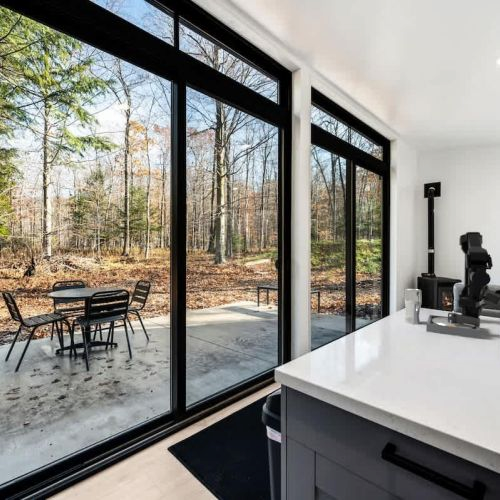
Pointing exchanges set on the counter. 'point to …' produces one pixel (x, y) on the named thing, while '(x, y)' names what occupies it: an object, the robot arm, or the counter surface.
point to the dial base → (452, 329)
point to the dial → (458, 321)
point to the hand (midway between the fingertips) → (476, 321)
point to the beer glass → (412, 305)
